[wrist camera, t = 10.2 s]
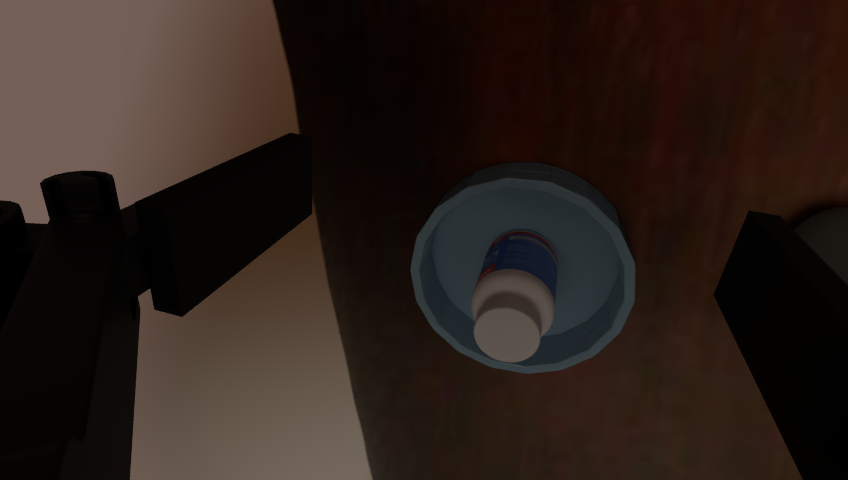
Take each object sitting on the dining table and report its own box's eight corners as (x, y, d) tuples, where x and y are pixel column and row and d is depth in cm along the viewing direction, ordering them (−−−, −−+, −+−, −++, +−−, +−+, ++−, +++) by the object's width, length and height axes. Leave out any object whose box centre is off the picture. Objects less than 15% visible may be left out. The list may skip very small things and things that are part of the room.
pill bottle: (493, 220, 37) (469, 285, 29) (565, 236, 36) (563, 307, 28) (481, 282, 40) (456, 358, 31) (548, 298, 39) (542, 381, 30)
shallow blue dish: (392, 272, 42) (375, 297, 38) (495, 117, 34) (487, 130, 31) (542, 373, 42) (540, 406, 39) (679, 241, 34) (691, 268, 31)
